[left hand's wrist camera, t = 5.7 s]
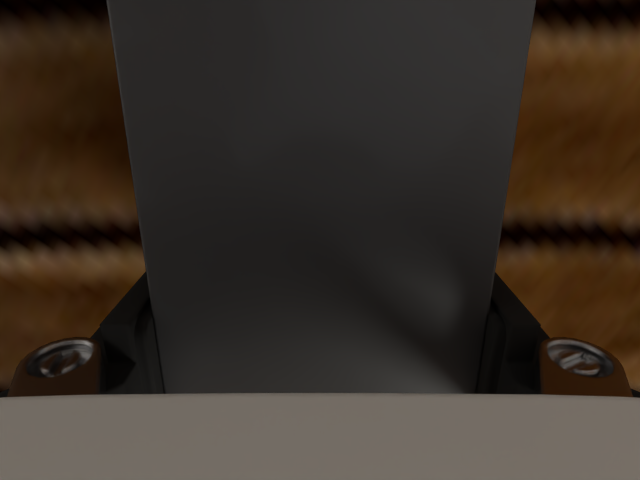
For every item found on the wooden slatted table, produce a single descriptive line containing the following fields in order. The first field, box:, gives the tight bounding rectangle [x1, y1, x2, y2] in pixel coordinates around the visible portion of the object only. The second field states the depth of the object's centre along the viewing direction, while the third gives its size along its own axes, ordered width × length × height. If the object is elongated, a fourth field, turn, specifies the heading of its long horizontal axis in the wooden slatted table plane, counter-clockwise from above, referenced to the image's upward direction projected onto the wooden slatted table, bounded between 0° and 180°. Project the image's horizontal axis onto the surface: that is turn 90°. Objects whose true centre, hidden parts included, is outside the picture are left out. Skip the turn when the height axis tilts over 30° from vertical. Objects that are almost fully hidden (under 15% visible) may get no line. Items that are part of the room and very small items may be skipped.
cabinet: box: [106, 0, 536, 394], centre depth 11 cm, size 21×6×10 cm, turn 0°
